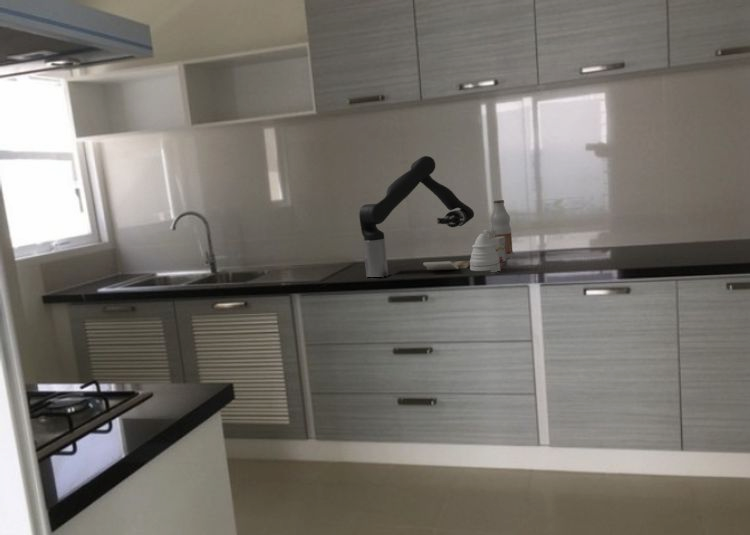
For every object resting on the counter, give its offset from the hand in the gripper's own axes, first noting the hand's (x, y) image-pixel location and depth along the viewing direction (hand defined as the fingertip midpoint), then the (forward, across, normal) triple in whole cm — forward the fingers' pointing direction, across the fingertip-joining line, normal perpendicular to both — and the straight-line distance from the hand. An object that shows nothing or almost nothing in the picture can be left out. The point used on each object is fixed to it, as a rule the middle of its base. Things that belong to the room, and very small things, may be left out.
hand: (445, 221), depth 292 cm
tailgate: (+5, 0, +21) cm, 21 cm away
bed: (-1, 0, +22) cm, 22 cm away
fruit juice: (-31, +19, +22) cm, 42 cm away
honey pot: (+7, +18, +22) cm, 30 cm away
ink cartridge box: (-19, +19, +22) cm, 35 cm away
